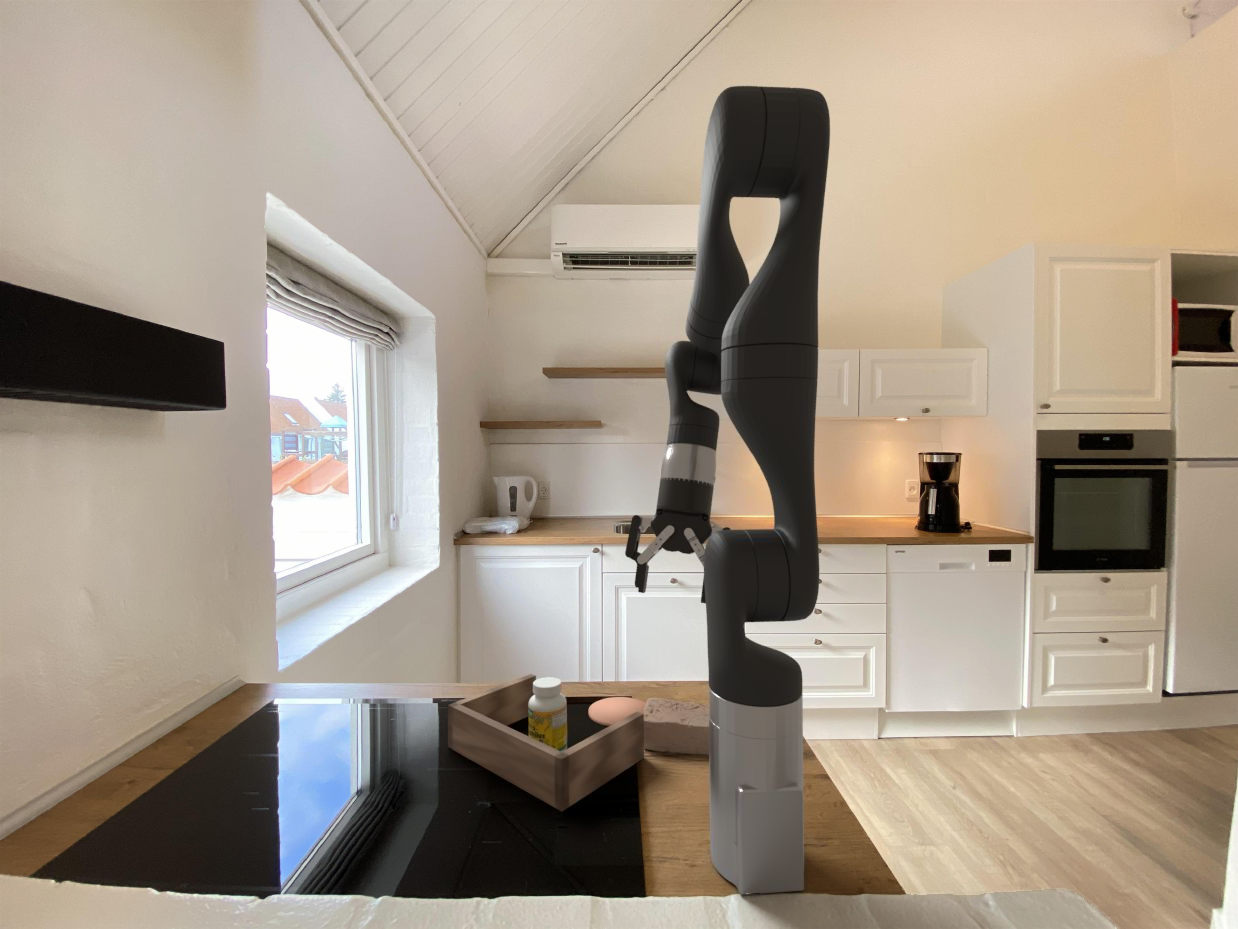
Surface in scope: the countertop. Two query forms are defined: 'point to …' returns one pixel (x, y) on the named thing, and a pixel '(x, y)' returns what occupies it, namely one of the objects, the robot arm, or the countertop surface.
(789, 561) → the robot arm
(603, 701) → the pink round coaster
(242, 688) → the countertop surface
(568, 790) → the wooden frame
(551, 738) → the supplement bottle
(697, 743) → the brick
